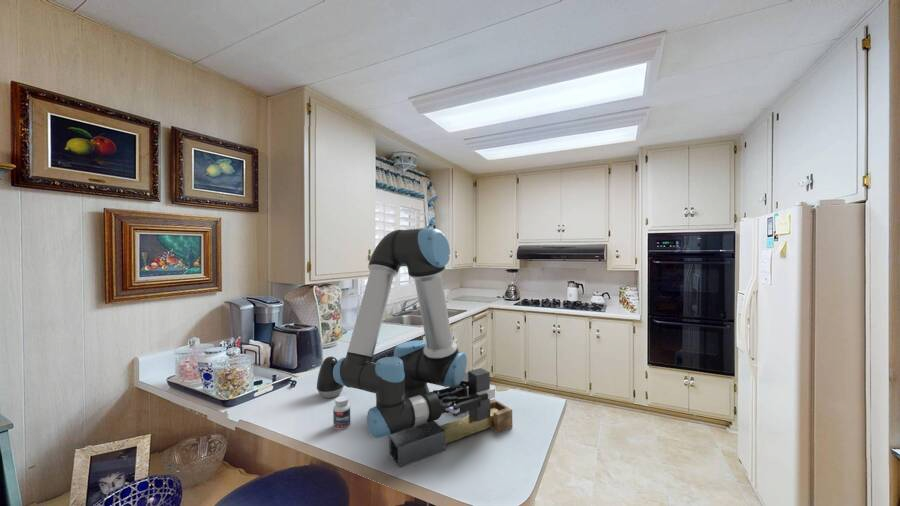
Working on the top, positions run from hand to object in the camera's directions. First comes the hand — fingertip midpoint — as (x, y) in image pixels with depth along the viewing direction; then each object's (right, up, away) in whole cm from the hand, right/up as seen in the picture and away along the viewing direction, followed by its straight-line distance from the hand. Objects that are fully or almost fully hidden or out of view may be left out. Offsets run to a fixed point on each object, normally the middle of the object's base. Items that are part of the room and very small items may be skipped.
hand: (488, 389), depth 107 cm
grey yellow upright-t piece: (-7, -11, -4) cm, 14 cm away
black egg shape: (-59, -13, +25) cm, 65 cm away
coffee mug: (-6, -12, +17) cm, 22 cm away
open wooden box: (+2, -12, +2) cm, 12 cm away
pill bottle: (-47, -13, +2) cm, 49 cm away
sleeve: (-21, -12, -13) cm, 28 cm away
